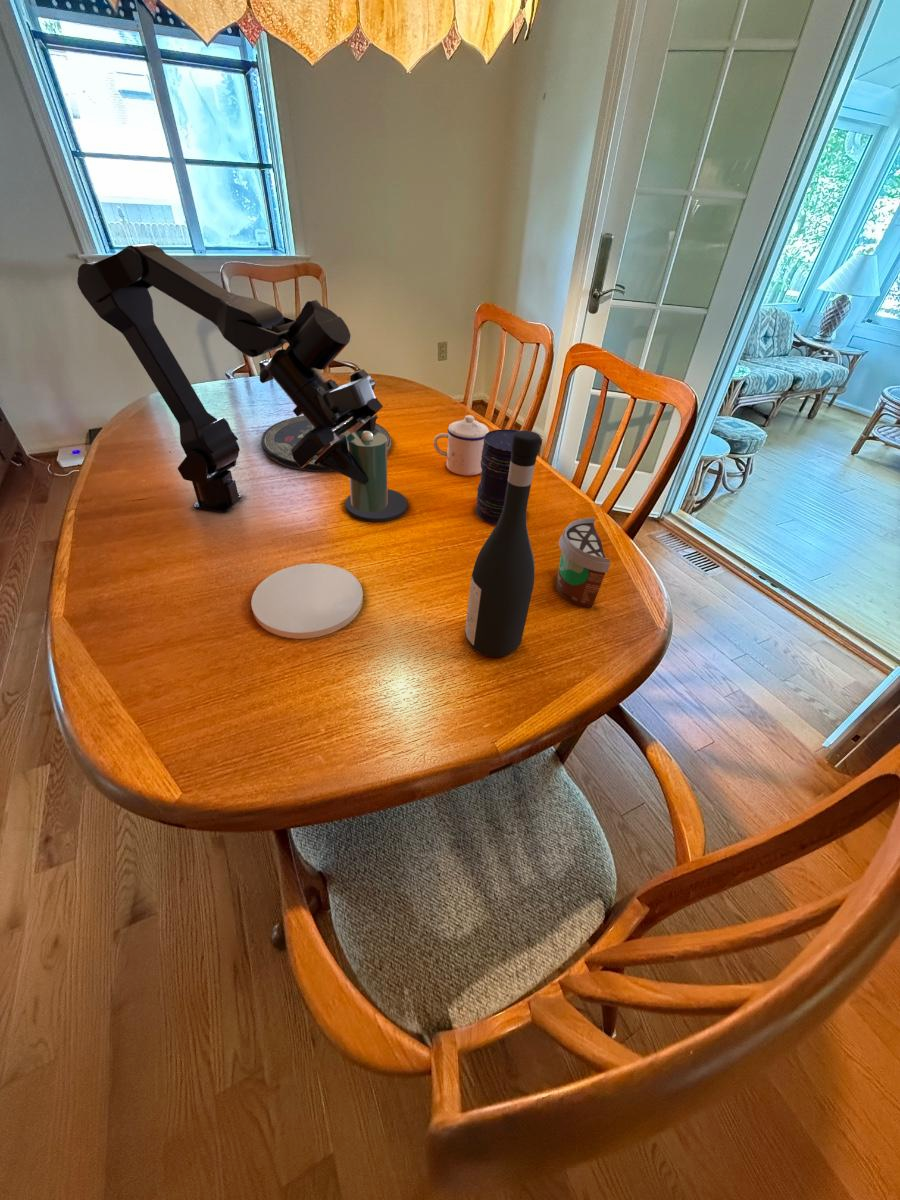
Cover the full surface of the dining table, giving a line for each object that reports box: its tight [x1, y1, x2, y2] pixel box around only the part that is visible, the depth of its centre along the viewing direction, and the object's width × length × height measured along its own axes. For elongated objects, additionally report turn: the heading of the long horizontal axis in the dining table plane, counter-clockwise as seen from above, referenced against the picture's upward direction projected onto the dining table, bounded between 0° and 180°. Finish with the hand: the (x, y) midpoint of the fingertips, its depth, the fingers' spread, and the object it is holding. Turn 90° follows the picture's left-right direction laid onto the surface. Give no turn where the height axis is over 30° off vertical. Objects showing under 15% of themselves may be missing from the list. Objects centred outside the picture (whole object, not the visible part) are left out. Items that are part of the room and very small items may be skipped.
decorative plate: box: [260, 415, 392, 473], centre depth 117 cm, size 30×2×30 cm
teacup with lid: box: [433, 414, 490, 477], centre depth 109 cm, size 12×9×12 cm
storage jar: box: [475, 428, 518, 526], centre depth 93 cm, size 10×10×15 cm
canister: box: [347, 431, 389, 512], centre depth 78 cm, size 6×6×12 cm
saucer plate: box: [250, 562, 364, 640], centre depth 74 cm, size 16×16×1 cm
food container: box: [555, 517, 612, 609], centre depth 78 cm, size 12×6×10 cm, turn 178°
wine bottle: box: [464, 429, 542, 658], centre depth 61 cm, size 8×8×30 cm
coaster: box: [344, 488, 409, 523], centre depth 97 cm, size 12×12×1 cm
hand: (376, 474), depth 78 cm, fingers closed on canister, 6 cm apart
